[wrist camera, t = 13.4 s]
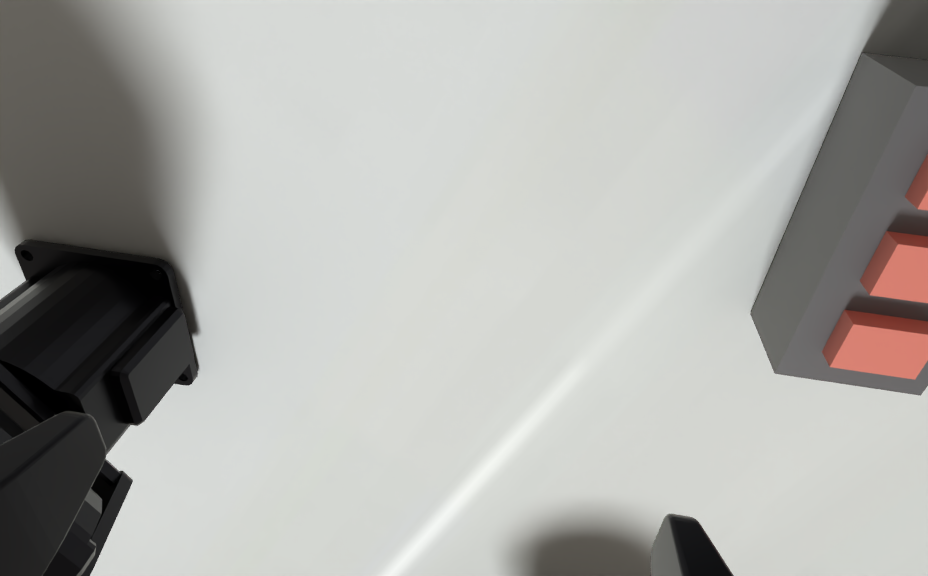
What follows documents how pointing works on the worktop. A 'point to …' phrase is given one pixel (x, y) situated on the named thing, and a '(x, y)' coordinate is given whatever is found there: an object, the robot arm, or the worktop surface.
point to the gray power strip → (859, 243)
